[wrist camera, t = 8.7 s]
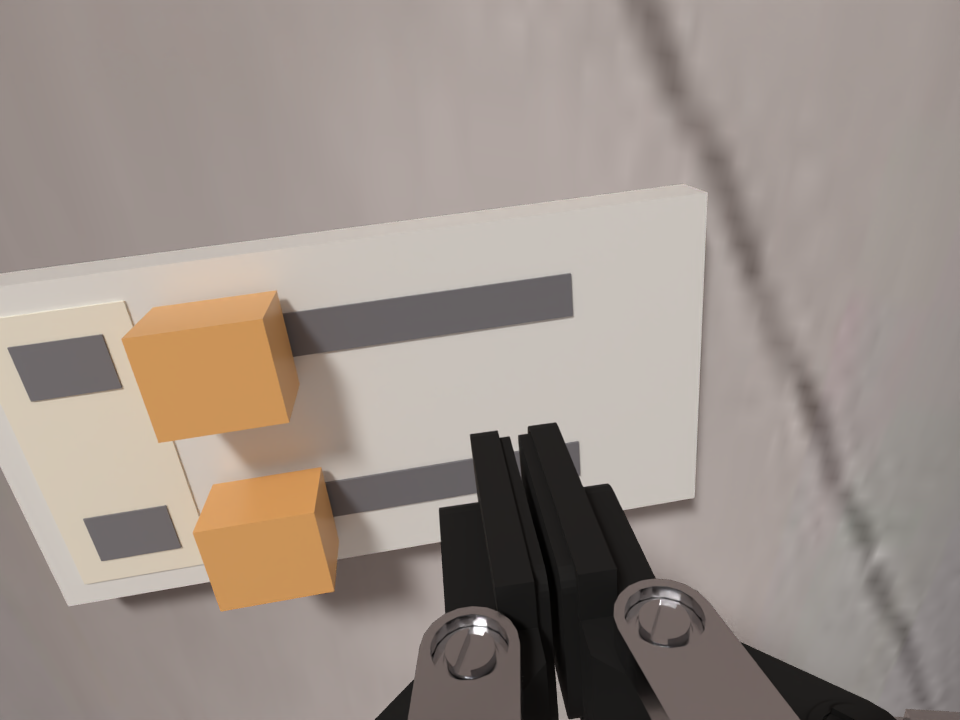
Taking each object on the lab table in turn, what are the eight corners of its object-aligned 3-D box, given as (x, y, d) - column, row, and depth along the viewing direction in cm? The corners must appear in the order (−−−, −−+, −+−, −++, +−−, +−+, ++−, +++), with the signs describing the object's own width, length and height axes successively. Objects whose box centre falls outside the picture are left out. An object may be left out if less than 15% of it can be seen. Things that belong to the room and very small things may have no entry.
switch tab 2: (321, 466, 24) (313, 512, 22) (339, 540, 26) (334, 591, 23) (212, 484, 24) (192, 532, 21) (237, 558, 25) (220, 611, 23)
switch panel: (683, 183, 24) (709, 193, 22) (675, 472, 30) (696, 500, 28) (-44, 279, 22) (-86, 299, 20) (89, 571, 27) (66, 609, 26)
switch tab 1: (276, 290, 21) (262, 318, 19) (299, 384, 23) (289, 422, 20) (152, 307, 21) (121, 338, 18) (184, 401, 22) (158, 443, 20)
